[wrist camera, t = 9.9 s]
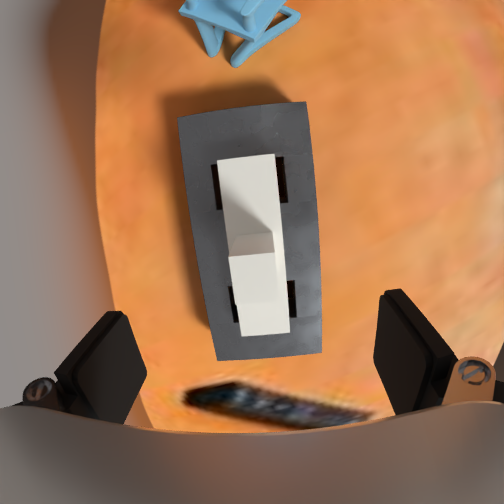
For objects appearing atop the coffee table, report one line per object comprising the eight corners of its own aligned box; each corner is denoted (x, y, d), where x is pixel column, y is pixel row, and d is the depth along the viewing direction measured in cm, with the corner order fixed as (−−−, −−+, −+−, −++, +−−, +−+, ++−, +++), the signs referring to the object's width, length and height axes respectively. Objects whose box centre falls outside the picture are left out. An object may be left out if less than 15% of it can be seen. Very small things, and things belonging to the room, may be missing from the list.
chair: (187, 48, 22) (139, -11, 11) (232, -11, 20) (214, -84, 9) (258, 79, 23) (251, 23, 12) (301, 17, 21) (319, -55, 10)
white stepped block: (226, 161, 25) (202, 159, 15) (272, 155, 25) (277, 150, 15) (245, 306, 29) (236, 375, 19) (286, 302, 29) (295, 370, 19)
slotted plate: (189, 123, 25) (177, 117, 21) (300, 110, 24) (306, 101, 20) (222, 338, 31) (217, 360, 27) (315, 330, 30) (321, 352, 26)
